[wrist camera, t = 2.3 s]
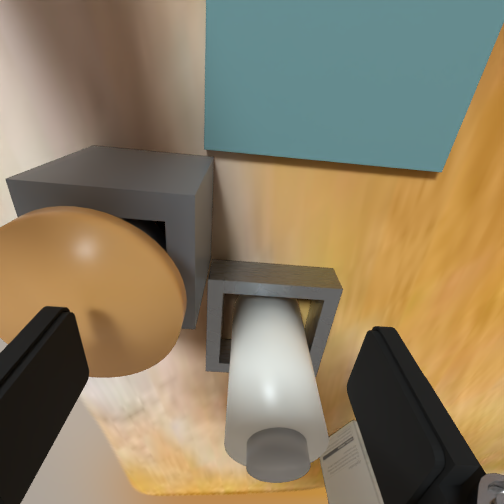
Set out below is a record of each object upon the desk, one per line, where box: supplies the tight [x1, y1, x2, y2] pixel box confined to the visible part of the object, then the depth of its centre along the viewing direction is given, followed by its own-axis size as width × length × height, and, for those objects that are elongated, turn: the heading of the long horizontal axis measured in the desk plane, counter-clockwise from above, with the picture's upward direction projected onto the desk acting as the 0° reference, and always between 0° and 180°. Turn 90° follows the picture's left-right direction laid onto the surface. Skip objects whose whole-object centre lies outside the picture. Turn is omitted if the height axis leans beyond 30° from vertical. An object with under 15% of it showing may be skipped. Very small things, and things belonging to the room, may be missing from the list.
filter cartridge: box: [224, 294, 329, 483], centre depth 18 cm, size 5×5×11 cm
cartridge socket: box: [206, 259, 343, 377], centre depth 22 cm, size 9×9×2 cm
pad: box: [204, 0, 504, 172], centre depth 14 cm, size 14×12×1 cm
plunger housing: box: [6, 146, 214, 329], centre depth 16 cm, size 7×7×7 cm
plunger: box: [0, 206, 187, 378], centre depth 12 cm, size 7×7×5 cm
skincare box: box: [319, 420, 384, 504], centre depth 29 cm, size 10×6×10 cm, turn 56°
